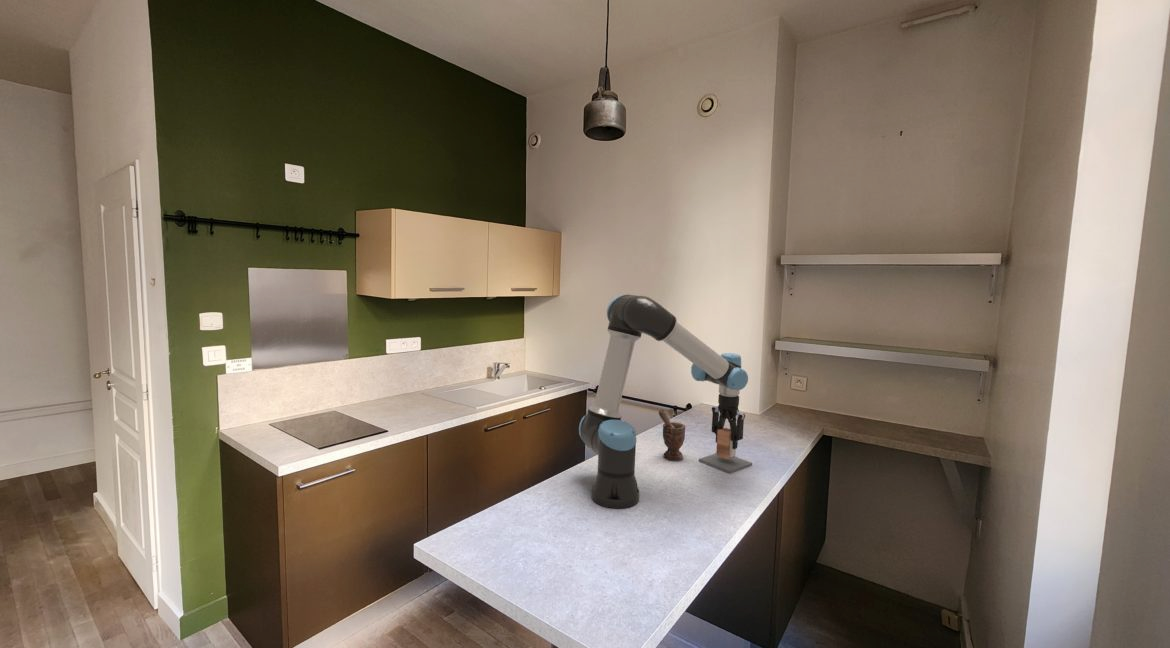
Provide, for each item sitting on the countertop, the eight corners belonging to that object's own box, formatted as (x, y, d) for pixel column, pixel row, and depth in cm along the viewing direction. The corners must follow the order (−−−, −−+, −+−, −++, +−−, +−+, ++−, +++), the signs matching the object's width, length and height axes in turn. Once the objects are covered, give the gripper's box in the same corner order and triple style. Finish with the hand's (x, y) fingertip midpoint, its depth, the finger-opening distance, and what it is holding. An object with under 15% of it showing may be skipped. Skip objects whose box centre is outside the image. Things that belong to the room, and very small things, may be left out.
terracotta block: (727, 459, 176) (728, 433, 175) (716, 455, 180) (717, 429, 179) (735, 456, 179) (736, 431, 178) (724, 452, 183) (725, 427, 182)
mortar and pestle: (673, 465, 176) (676, 413, 174) (653, 459, 181) (655, 409, 179) (687, 457, 185) (690, 407, 183) (668, 452, 190) (670, 403, 188)
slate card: (729, 473, 170) (729, 471, 170) (698, 461, 181) (698, 458, 181) (752, 465, 178) (752, 462, 178) (721, 454, 189) (721, 451, 189)
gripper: (756, 398, 172) (752, 459, 174) (715, 388, 187) (712, 445, 189) (744, 400, 168) (740, 463, 170) (703, 390, 182) (700, 449, 184)
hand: (725, 454), depth 179 cm, fingers closed on terracotta block, 5 cm apart
